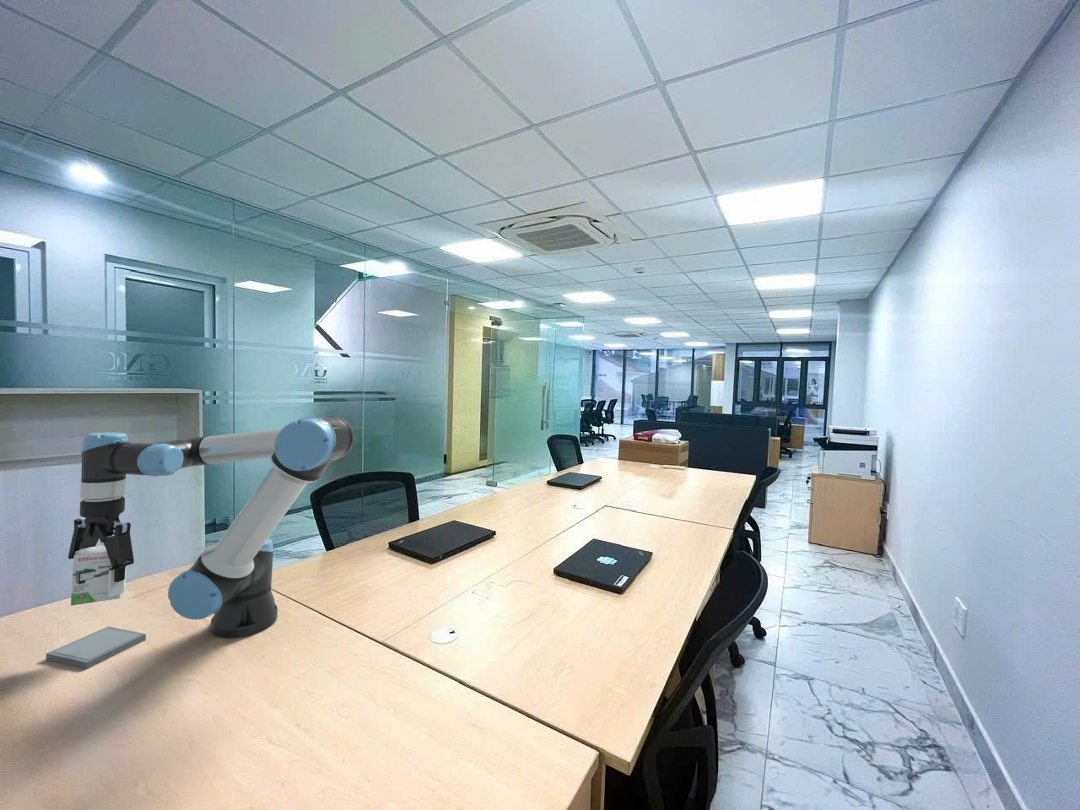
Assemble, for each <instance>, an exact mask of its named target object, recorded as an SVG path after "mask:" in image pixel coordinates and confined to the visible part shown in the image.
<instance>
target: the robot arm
mask: <svg viewBox="0 0 1080 810" xmlns="http://www.w3.org/2000/svg"><path fill="white" fill-rule="evenodd" d="M354 443H355V431H354V429H353V427H352V426H351V424H350V423H349V422H348V420H347V421H346V420H345V419H343V418H341V417H339V416H334V415H329V416H328V415H326V416H319V417H313V416H312V417H310V416H309V417H303V418H299V419H297V420H294V421H291V422H290V423H288V424H286V425H285V426H283V427H282V428H275V429H274V428H273V429H265V430H256V431H247V432H235V433H228V434H219V435H218V434H217V435H209V436H195V437H190V438H189V437H188V438H183V439H176V440H175V439H174V440H167V441H160V442H159V441H157V442H145V443H144V442H130V441H129V438H128V435H127V433H124V432H113V431H111V432H92V433H88V434H86V435H85V436H83V440H82V447H81V451H80V453H81V472H80V473H81V477H80V478H81V479H80V480H81V481H80V487H79V488H80V491H79V497H80V499H82V500H81V501H79V516H80V517H81V518H75V519H74V520H73V533H72V538H71V543H70V547H69V551H68V556H67V558H68V559H69V560H74V555H75V553H77V552H78V551H79V550H80V549H82V548H83V549H84V548H88V547H97V546H96V545H97V543H98V542H99V541H100V543H102V544H103V546H105V548H106V551H107V554H108V557H109V560H110V562H111V565H112V568H110V569H109V578H108V597H113V596H115V595H118V594H120V593H123V592H124V579H125V568H126V569H127V567H128V566H130V565H134V564H135V560H134V559H135V558H134V551H133V544H132V537H131V527H132V524H131V522H125V523H124V522H121V520H120V515H121V514H122V513H124V512H125V510H126V509H125V508H126V498H125V496H124V495H126V478H127V475H136V476H149V477H163V476H165V477H168V476H172V475H174V474H175V473H176V472H177V471H179V470H180V469H186V468H189V467H198V466H206V465H213V464H223V463H225V464H226V463H232V462H233V463H234V462H242V461H243V462H244V461H254V460H262V459H270V462H271V463H272V467H271V468H270V469H269V471H268V472H267V474H266V475H265V477H264V478H263V479H262V480H261V482H260V484H259V485H258V486H257V488H256V489H255V490H254V491H253V493H252V495H250V497H249V498H248V500H247V502H246V503H245V505H243V507H242V508H241V510H240V511H239V513H238V514H237V515H236V517H235V518H234V519H233V521H232V523H230V525H229V527H228V528H227V529H226V531H225V532H224V534H223V535H222V536H221V538H220V539H219V541H217V543H215V544H211V545H209V546H207V547H205V549H203V551H202V552H201V554H200V555H199V556H197V557H198V558H197V559H196V560H195V561H194V563H193V564H192V566H190V568H189V569H188V570H185V571H183V572H182V571H181V573H179V574H178V575H177V576H176V577H174V579H173V580H171V582H170V584H169V586H168V590H167V597H168V600H169V602H170V603H169V604H170V607H171V608H172V609H173V610H174V612H176V613H177V614H178V615H180V617H183V618H185V619H189V620H192V621H193V620H194V621H197V620H204V619H206V618H208V617H210V616H212V615H213V616H212V618H211V620H210V623H209V624H210V625H209V626H210V627H209V633H210V634H211V635H212V636H213V637H216V638H220V639H237V638H242V637H247V636H251V635H255V634H257V633H260V632H261V631H264V630H265V629H268V628H270V627H271V626H272V625H273V624H274V623H275V622H276V621H277V620H278V616H279V615H278V613H279V612H278V611H279V610H278V606H277V604H276V602H275V598H274V595H273V592H272V580H273V564H274V563H273V560H274V551H275V550H274V547H273V546H274V544H273V541H272V539H270V536H271V535H272V533H273V532H274V530H276V528H277V526H278V525H279V523H280V522H281V521H282V520H283V518H284V517H285V515H286V514H287V512H288V511H289V510H290V508H291V507H292V505H293V504H294V503H295V501H296V500H297V499H298V497H299V496H300V495H301V494H302V492H303V490H304V489H305V488H306V486H307V484H310V483H315V482H317V481H319V479H320V477H321V476H322V475H323V474H324V472H325V471H326V470H327V468H328V467H329V465H330V464H331V462H333V461H337V460H340V459H341V458H344V457H345V456H346V455H347V454H348V453H350V451H351V450H352V449H353V446H354ZM117 562H118V563H117ZM124 593H125V592H124Z"/></svg>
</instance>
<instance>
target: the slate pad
mask: <svg viewBox="0 0 1080 810" xmlns="http://www.w3.org/2000/svg"><path fill="white" fill-rule="evenodd" d="M146 640H147V633H142V632H138V631H132V630H128V629H123V628H118V627H113V626H107V627H106V626H105V627H104V628H102V629H99V630H97V631H94V632H92V633H90V634H88V635H86V636H84V637H81V638H78V639H76V640H74V641H72V642H70V643H67V644H65V645H63V646H61V647H57V648H56V649H53V650H51V651H48V652H46V654H45V660H46V661H48V662H53V663H57V664H62V665H66V666H71V667H75V668H81V669H85V670H89V669H90V668H92V667H95V666H96V665H98V664H100V663H102V662H104V661H106V660H108V659H110V658H112V657H114V656H116V655H118V654H120V653H122V652H124V651H126V650H128V649H130V648H132V647H134V646H137V645H138V644H140V643H142V642H144V641H146Z"/></svg>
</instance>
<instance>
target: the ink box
mask: <svg viewBox="0 0 1080 810" xmlns="http://www.w3.org/2000/svg"><path fill="white" fill-rule="evenodd" d="M76 552H77V553H76ZM76 552H75V555H74V559H72V560H73V563H72V580H71V594H70V595H71V597H70V606H78V605H83V604H91V603H99V602H106V601H113V600H117V599H118V600H119V599H121V598H122V596H123V595H124V594H125V592H126V583H127V581H126V580H127V567H126V568H125V579H124V592H123V593H120V594H118V595H115V596H113V597H108V578H109V569H110V568H112V565H111V562H110V560H109V557H108V554H107V551H106V548H105V545H99V546H95V547H88V548H84V549H83V548H82V549H80V550H79V551H76ZM117 563H118V562H117Z"/></svg>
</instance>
